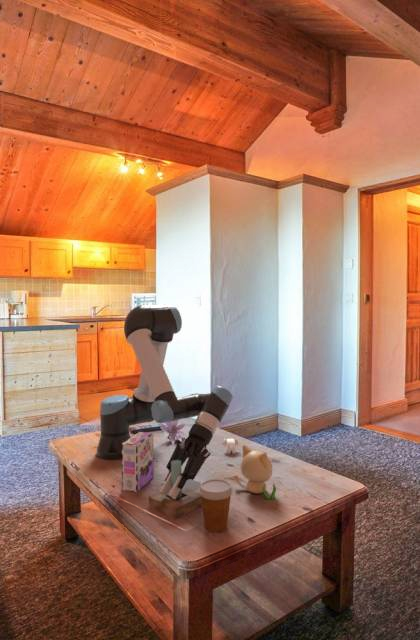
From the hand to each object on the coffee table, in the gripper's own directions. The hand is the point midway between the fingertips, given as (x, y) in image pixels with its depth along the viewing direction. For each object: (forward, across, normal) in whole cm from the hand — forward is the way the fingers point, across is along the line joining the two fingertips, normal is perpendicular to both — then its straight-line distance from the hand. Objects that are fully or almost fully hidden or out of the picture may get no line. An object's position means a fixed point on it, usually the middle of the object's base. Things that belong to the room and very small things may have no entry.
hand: (167, 495), depth 134 cm
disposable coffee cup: (+2, -17, -6) cm, 18 cm away
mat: (-8, +9, -15) cm, 19 cm away
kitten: (-17, -13, -24) cm, 32 cm away
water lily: (-30, +46, -37) cm, 66 cm away
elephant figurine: (-33, +17, -40) cm, 55 cm away
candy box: (-1, +22, -8) cm, 24 cm away
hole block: (+1, 0, -6) cm, 6 cm away
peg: (-1, 0, -5) cm, 5 cm away
